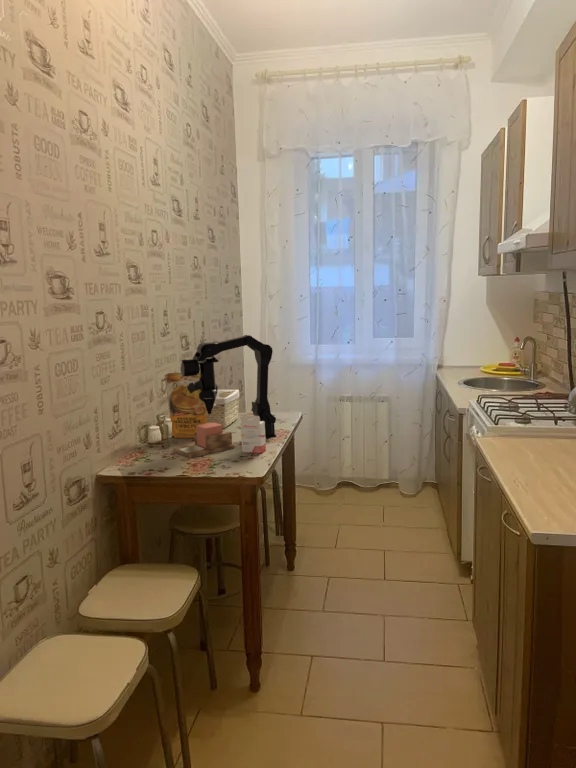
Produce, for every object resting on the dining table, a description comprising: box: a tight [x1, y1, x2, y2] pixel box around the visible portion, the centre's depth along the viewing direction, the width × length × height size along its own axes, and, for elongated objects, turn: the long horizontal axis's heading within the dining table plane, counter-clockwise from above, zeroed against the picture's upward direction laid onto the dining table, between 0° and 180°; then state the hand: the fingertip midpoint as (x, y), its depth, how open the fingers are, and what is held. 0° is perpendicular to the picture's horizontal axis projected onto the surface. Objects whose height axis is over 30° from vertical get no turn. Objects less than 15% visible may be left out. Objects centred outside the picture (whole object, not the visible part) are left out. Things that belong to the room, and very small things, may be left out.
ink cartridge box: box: [240, 414, 267, 454], centre depth 231 cm, size 9×5×15 cm, turn 70°
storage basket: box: [207, 389, 240, 429], centre depth 281 cm, size 24×16×15 cm
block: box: [196, 422, 224, 448], centre depth 238 cm, size 8×7×8 cm
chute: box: [172, 431, 235, 459], centre depth 237 cm, size 20×14×6 cm
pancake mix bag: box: [164, 372, 207, 439], centre depth 257 cm, size 7×19×28 cm, turn 81°
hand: (210, 411), depth 243 cm, fingers open, 9 cm apart
